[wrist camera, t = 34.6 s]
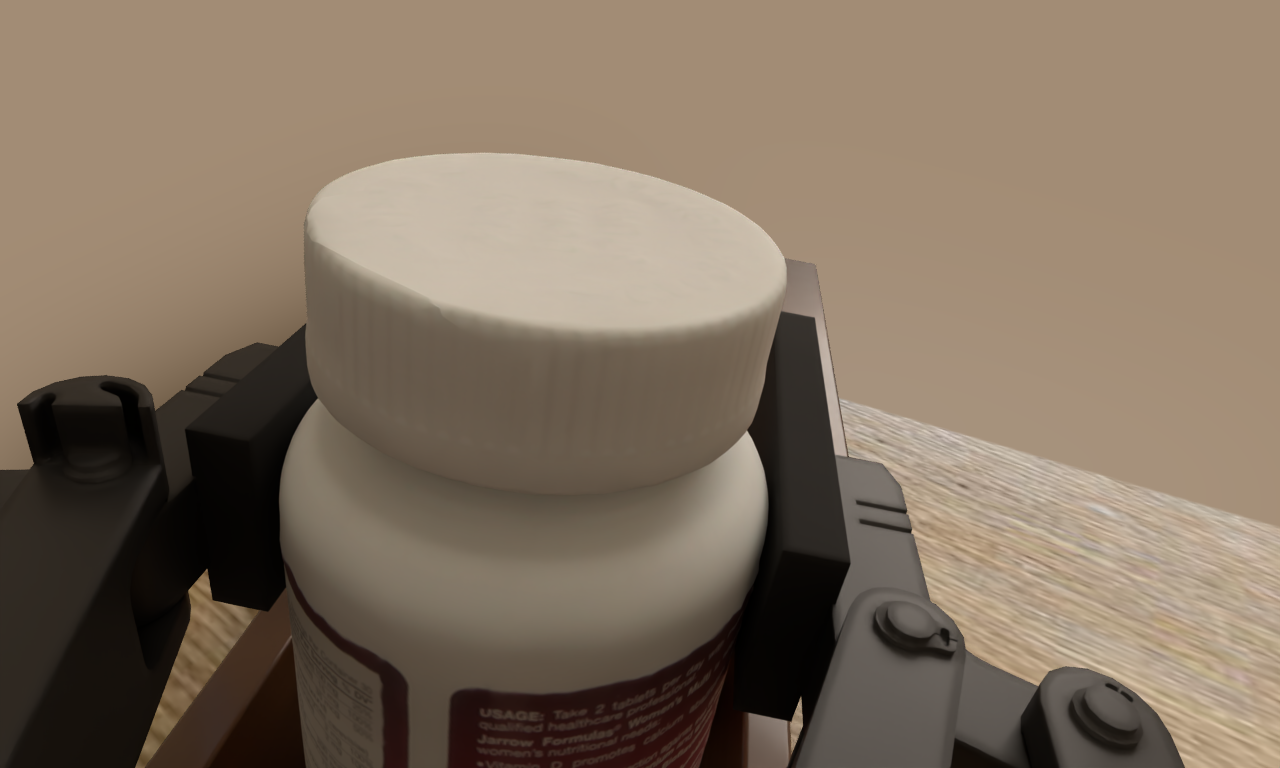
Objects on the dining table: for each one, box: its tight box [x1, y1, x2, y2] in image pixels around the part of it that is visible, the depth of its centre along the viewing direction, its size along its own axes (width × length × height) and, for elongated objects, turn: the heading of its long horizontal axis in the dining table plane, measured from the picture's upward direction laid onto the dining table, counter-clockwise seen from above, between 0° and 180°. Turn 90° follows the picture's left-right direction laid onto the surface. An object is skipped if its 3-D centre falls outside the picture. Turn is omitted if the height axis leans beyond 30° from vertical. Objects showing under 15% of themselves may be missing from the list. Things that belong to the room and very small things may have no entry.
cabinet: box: [781, 258, 849, 457], centre depth 25 cm, size 15×12×9 cm
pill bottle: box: [279, 153, 787, 768], centre depth 12 cm, size 6×6×11 cm
